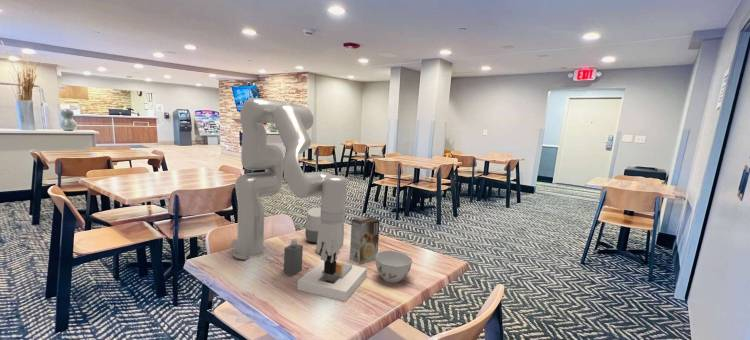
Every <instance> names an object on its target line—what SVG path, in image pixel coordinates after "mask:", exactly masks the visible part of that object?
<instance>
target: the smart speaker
mask: <svg viewBox="0 0 750 340" xmlns="http://www.w3.org/2000/svg"><path fill="white" fill-rule="evenodd" d="M306 214H307V215H306V223H305V232H304V233H305V234H304V235H305V239H306V241H308V242H309V243H314V244H317V237H318V230H319V225H320V222H321V221H320V214H321V207H312V208H310V209H308V210H307V213H306Z"/></svg>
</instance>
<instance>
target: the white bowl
mask: <svg viewBox="0 0 750 340" xmlns="http://www.w3.org/2000/svg"><path fill="white" fill-rule="evenodd" d="M374 261H375V267H376V270H377V272H378V274H379V275H380V277H381V278H382V279H383V280H384V281H385V282H386V283H390V284H395V283H400V282H401V280H403V279H404V278H405V277H406V276H407V275H408V274H409V272H410V270H411V267H412V264H413V259H412V257H411V256H409V255H408V254H407V253H404V252H401V251H395V250H382V251H378V253H377V254H376V256H375V260H374Z"/></svg>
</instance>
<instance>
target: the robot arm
mask: <svg viewBox="0 0 750 340" xmlns="http://www.w3.org/2000/svg"><path fill="white" fill-rule="evenodd" d="M239 113H240V114H239V118H240V124H241V129H242V136H241V137H242V138H241V157H240V158H241V160H240V161H241V165H242V167H243V168H244V169H246V170H250V171H256V170H257V171H259V170H260V171H261V170H264V171H261V172H250V173H249V172H248V173H244V174H241V175H240V176H238V177H237V178H236V180H235V184H234V185H235V187H234V188H235V193H236V200H237V239H235V238H233V239H232V241H231V242H230V243H229V244H230V245H229V246H231V247H234V249H233V251H232V256H233V257H234V258H235V259H238V260H244V261H245V260H246V261H247V260H250V259H253V258H258V257H259V258H260V257H261V256H264V255H266V254H267V253H268V248H267V247H266V246H264V241H265V207H264V204H263V202H262V201H261V200H260V198H263V197H264V198H265V197H269V196H270V197H271V196H275V195H278V194H279V193H280V192H281V190H282V185H283V177H284V178H285V181H286V182H287V185H288V187H289V189H290V191H291V192H292V193H293V194H294V196H296V197H297V198H299V199H305V198H311V197H312V198H313V197H318V196H319V197H320V196H321V197H320V198H321V199H320V208H321V214H320V221H321V222H320V225H319V230H318V237H317V243H316V246H315V247H316V249H315V253H316V252H317V253H316V254H317V255H319V253H321V252H322V255H320V260H321V261H324V262H325V263H324V273H326V274H331V275H333V274H334V273H335V272H336V262H337V260H338V255H337V253H338V251H339V250H341V249H342V247H343V245H344V240H345V239H344V238H345V226H344V223H345V221H346V205H347V190H348V189H347V188H348V180H347V178H346V177H344V176H342V175H334V174H332V173H330V172H327V171H313V172H304V171H303V169H302V168H301V165H300V163H299V162H300V160H299V156H300V155H301V154H303V153H304V152H305V151H307V150H309V148H310V147H311V145H312V140H311V137H310V135H309V133H308V130H310V129H311V128H312V126H313V124H314V115H313V113H312V111H311V110H310V109H309V108H308V107H306V106H305V105H304V106H303V105H299V104H296V103H292V102H288V101H284V100H283V101H282V100H276V99H269V98H263V97H262V98H261V97H260V98H259V97H253V98H248V99H246V100H245V101H244V102H243V104H242V105H241V108H240V112H239ZM264 123H265V124H274V126H275V128H276V129H277V130H276V131H277V132H278V134H279V137H280V139H281V141H282V143H283V145H284V149H285V150H286V151H285V154H283V151H282V149H281V148H280V146H278V145H275V144H267V141H268V140H267V139H268V134H267V130H266V128H265V126H264Z"/></svg>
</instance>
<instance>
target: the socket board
mask: <svg viewBox="0 0 750 340" xmlns="http://www.w3.org/2000/svg"><path fill="white" fill-rule="evenodd" d="M337 262H338V263H341V262H339V261H337ZM324 263H325V262H324V260H321V262H319V264H317V265H316V266H314V267H313V268H312V269H310V271H308V272H306V273H305V274H304V275H303V276H302V277H300V278H299V279H298V280H297V290H298V291H301V292H304V293H305V292H306V293H309V294H314V295H317V296H322V297H325V298H330V299H334V300H336V301H337V300H338V301H342V302H346V301H347V300H348V299H349V298H350V297H351V296H352V295H353V293H354V292H355V291H356V290H357V289H358V288H359V286H360V285H361V284H362V283H363V282H364V280H365V279H366V277H367V273H368V268H367V267H364V266H358V265H354V264H351V265H352V268H351V269H350V270H349V271H348V272H347V273H346V274H345V275H344V276H343V277H342V278H340V277H336V276H331V275H327V274H322V271H323V270H324ZM342 263H343V264H345V263H344V262H342ZM347 264H348V265H350V264H349V263H347Z"/></svg>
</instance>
